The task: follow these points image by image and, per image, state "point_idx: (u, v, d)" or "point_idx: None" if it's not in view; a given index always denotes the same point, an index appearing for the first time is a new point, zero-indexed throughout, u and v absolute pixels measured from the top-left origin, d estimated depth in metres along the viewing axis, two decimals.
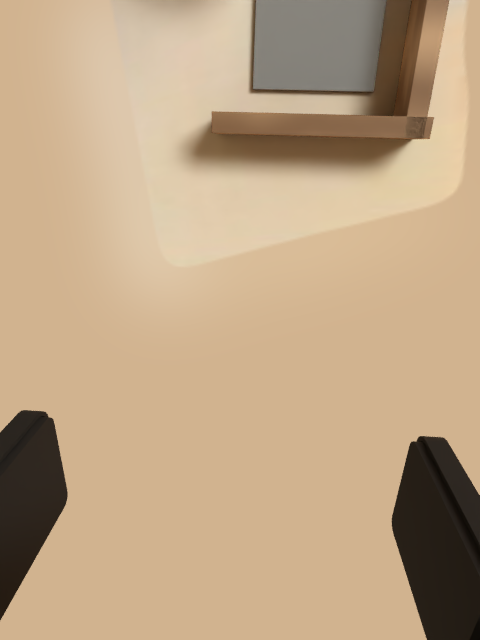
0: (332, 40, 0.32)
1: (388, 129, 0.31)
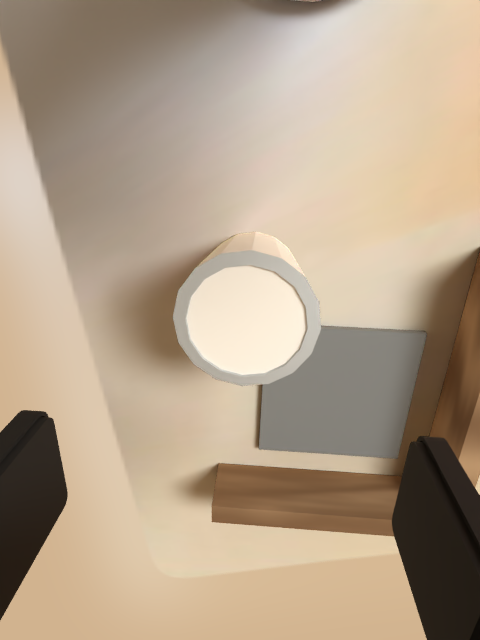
0: (351, 415, 0.28)
1: None
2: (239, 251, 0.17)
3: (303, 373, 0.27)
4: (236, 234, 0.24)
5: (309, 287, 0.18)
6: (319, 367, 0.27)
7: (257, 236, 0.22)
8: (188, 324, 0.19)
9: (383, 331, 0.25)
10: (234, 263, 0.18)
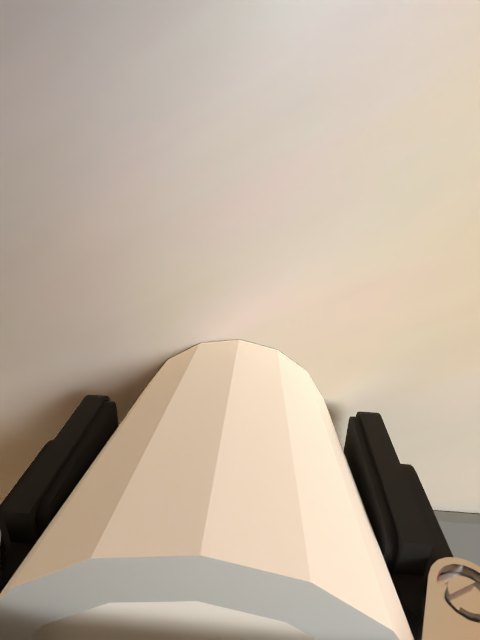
0: None
1: None
2: (157, 551, 0.05)
3: None
4: (197, 345, 0.11)
5: None
6: None
7: (239, 372, 0.09)
8: None
9: None
10: (141, 589, 0.05)
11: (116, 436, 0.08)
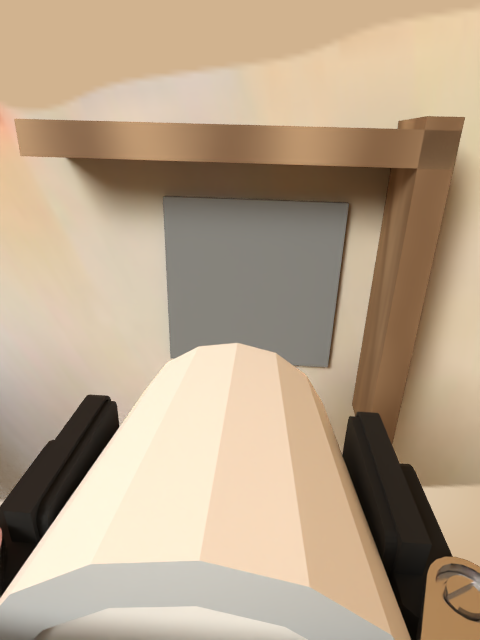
0: (278, 269, 0.23)
1: (433, 199, 0.18)
2: (157, 557, 0.05)
3: (223, 323, 0.25)
4: (196, 348, 0.11)
5: None
6: (213, 307, 0.24)
7: (238, 375, 0.09)
8: None
9: (165, 244, 0.23)
10: (140, 594, 0.05)
11: (115, 440, 0.08)
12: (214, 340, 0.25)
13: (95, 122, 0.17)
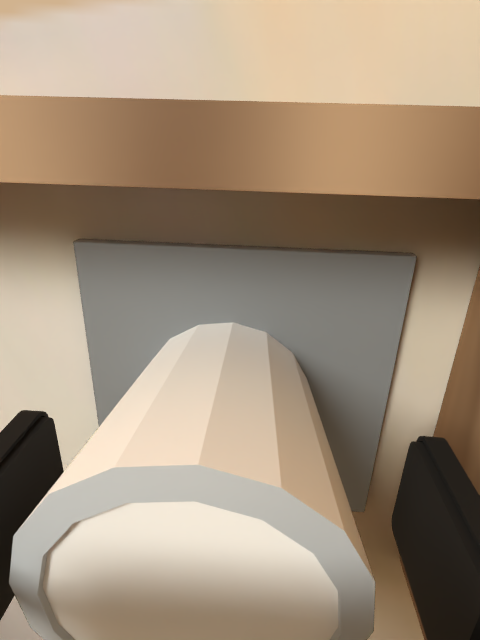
0: None
1: None
2: (165, 463, 0.06)
3: None
4: (196, 326, 0.13)
5: (352, 553, 0.07)
6: None
7: (232, 347, 0.11)
8: (48, 600, 0.08)
9: (85, 322, 0.13)
10: (151, 492, 0.06)
11: (127, 395, 0.10)
12: None
13: None
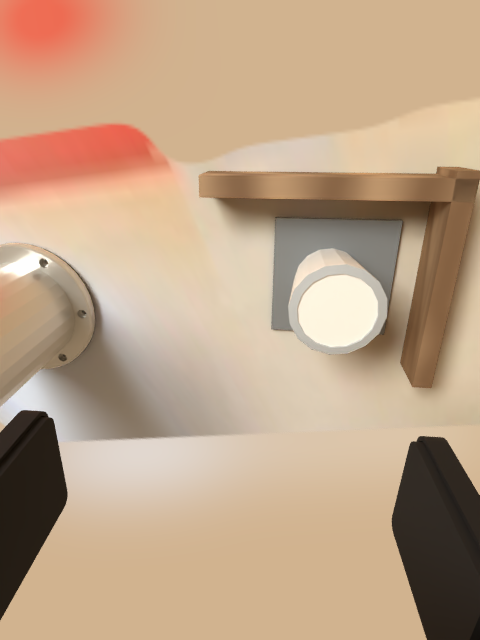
0: None
1: (461, 220, 0.28)
2: (337, 264, 0.27)
3: None
4: (319, 250, 0.34)
5: (381, 289, 0.27)
6: None
7: (337, 252, 0.32)
8: (298, 311, 0.29)
9: (274, 249, 0.34)
10: (333, 272, 0.27)
11: (308, 264, 0.31)
12: None
13: (249, 176, 0.28)
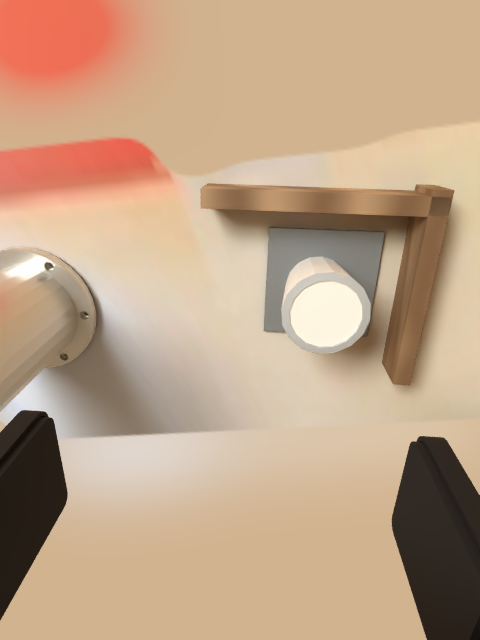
0: None
1: (436, 234, 0.32)
2: (326, 272, 0.30)
3: None
4: None
5: (365, 294, 0.30)
6: None
7: (326, 260, 0.35)
8: (290, 314, 0.31)
9: None
10: (323, 279, 0.30)
11: (299, 271, 0.33)
12: None
13: (247, 190, 0.31)
